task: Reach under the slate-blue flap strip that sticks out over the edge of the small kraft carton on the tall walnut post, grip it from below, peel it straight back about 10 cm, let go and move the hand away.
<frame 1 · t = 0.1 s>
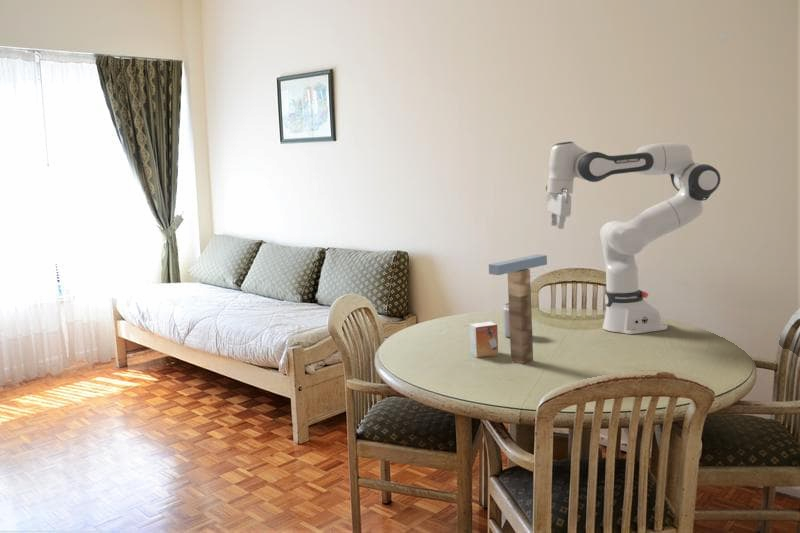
hand: (557, 227, 258), 39 cm above the table, tool pointing down, fingers open, 8 cm apart
flap: (518, 264, 229), point 32 cm above the table, slide at 0.0 cm
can: (514, 336, 264), on the table
stand: (522, 360, 234), on the table
small box: (484, 354, 244), on the table
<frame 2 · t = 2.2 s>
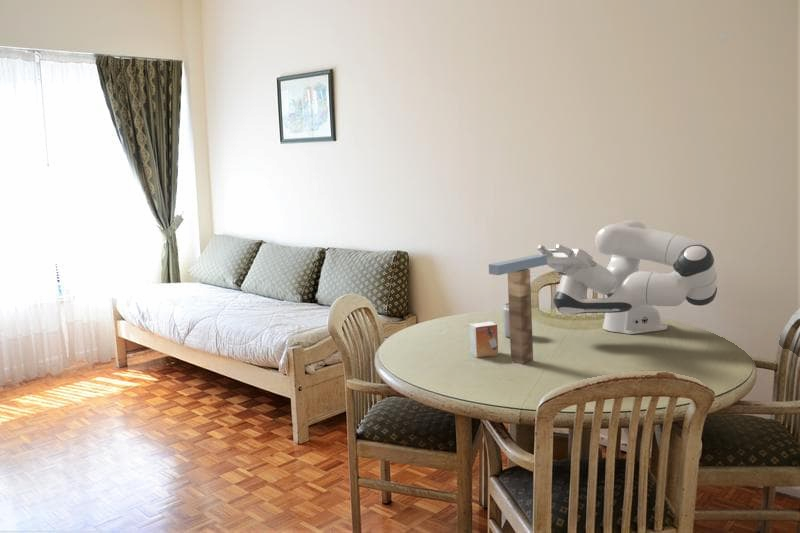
hand: (548, 246, 236), 35 cm above the table, tool pointing upward, fingers open, 8 cm apart
nothing on the table moved.
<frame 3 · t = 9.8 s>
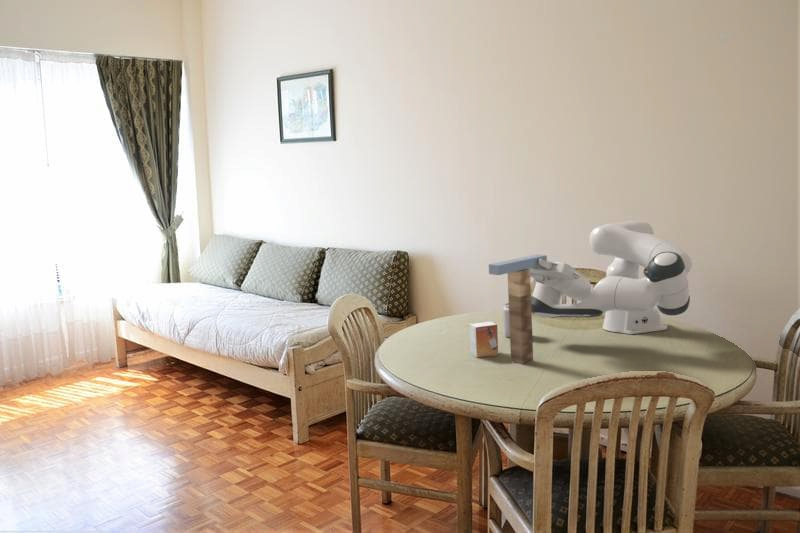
hand: (532, 260, 233), 32 cm above the table, tool pointing upward, fingers closed on flap, 4 cm apart
flap: (518, 264, 229), point 32 cm above the table, slide at 0.0 cm, touching gripper
everything else where it was.
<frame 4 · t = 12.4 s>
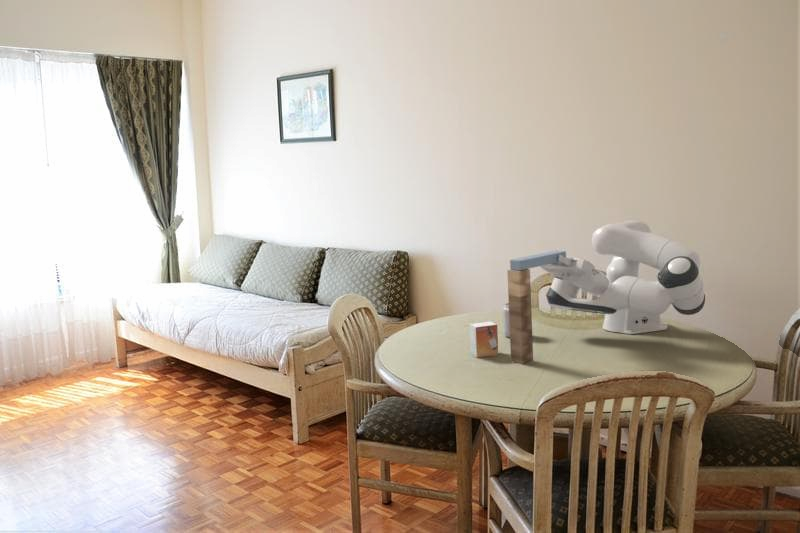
hand: (551, 256, 238), 32 cm above the table, tool pointing upward, fingers closed on flap, 4 cm apart
flap: (538, 260, 234), point 32 cm above the table, slide at 9.4 cm, touching gripper
everything else where it was.
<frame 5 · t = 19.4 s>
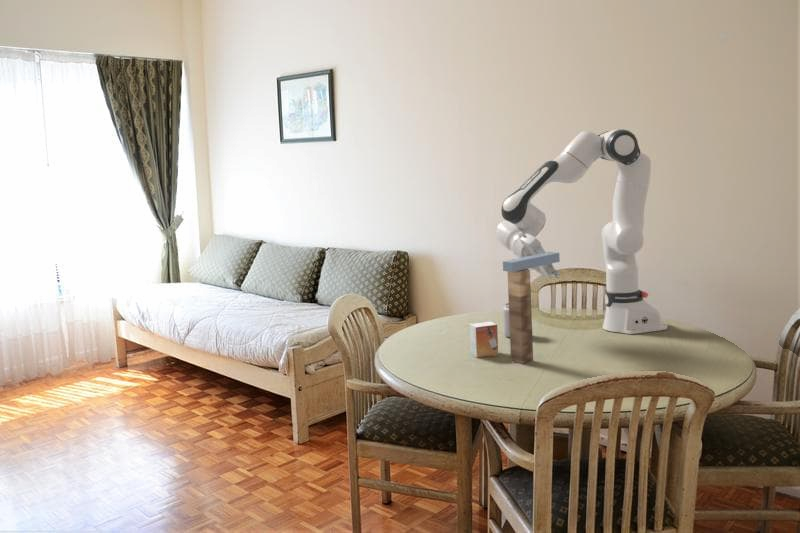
hand: (553, 266, 244), 28 cm above the table, tool tilted 70°, fingers open, 8 cm apart
flap: (531, 261, 233), point 32 cm above the table, slide at 6.1 cm, touching gripper
everything else where it was.
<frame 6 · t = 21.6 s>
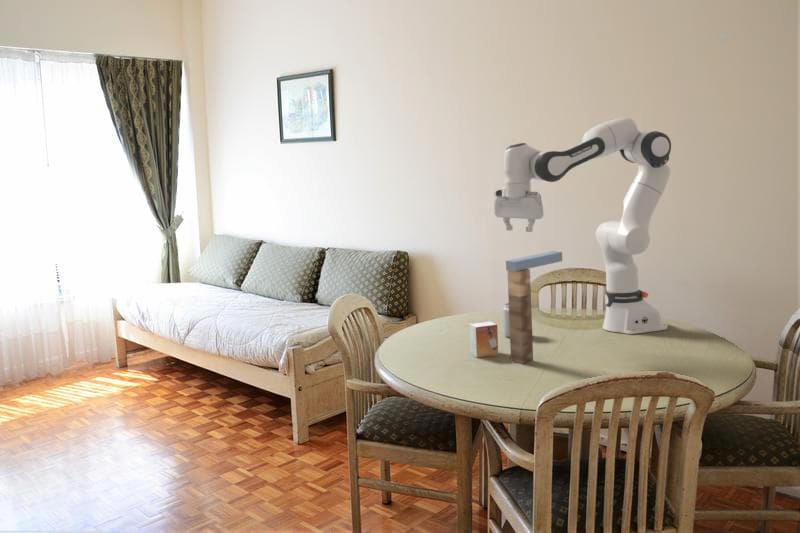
hand: (519, 231, 252), 39 cm above the table, tool pointing down, fingers open, 8 cm apart
flap: (534, 261, 233), point 32 cm above the table, slide at 7.5 cm
everything else where it was.
at the end: flap slide at 7.5 cm; the gripper is holding nothing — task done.
